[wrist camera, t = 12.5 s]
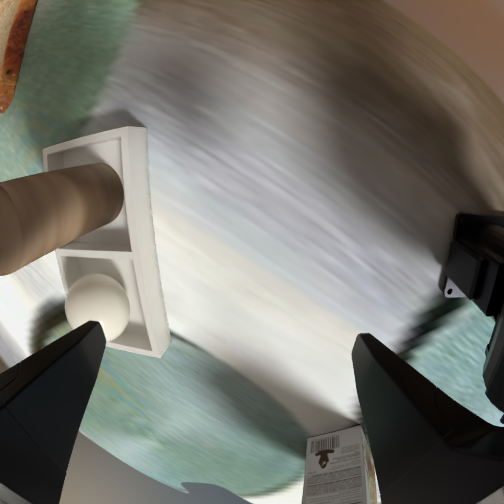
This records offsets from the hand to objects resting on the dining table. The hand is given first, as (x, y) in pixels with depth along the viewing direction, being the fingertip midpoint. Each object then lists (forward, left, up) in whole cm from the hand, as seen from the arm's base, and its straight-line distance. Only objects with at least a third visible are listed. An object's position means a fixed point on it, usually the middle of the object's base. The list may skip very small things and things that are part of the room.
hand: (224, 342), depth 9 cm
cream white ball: (+13, +5, -11) cm, 18 cm away
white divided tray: (+13, +1, -11) cm, 17 cm away
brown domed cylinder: (+13, -4, -11) cm, 17 cm away
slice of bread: (+30, -26, -12) cm, 41 cm away
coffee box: (-9, +25, -12) cm, 29 cm away
